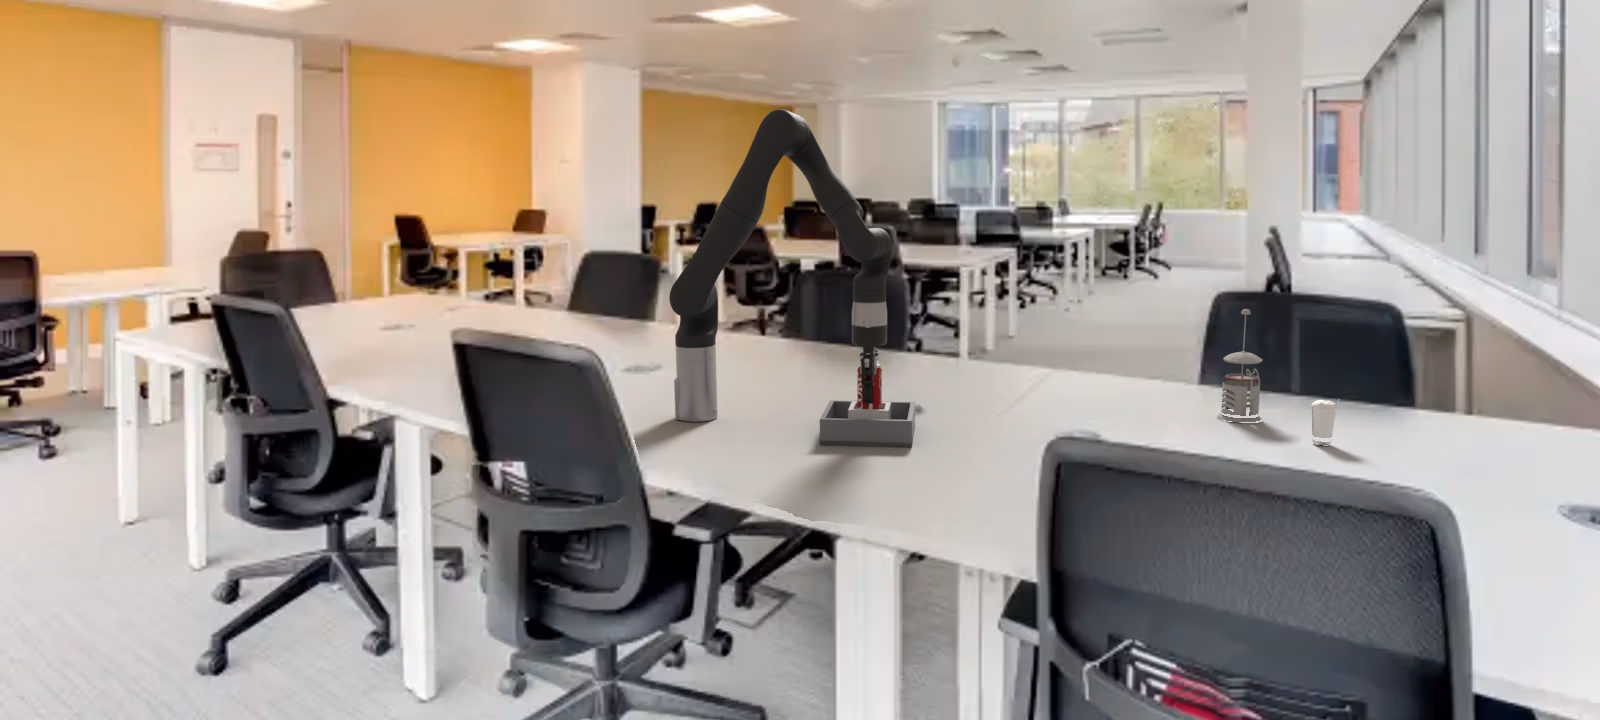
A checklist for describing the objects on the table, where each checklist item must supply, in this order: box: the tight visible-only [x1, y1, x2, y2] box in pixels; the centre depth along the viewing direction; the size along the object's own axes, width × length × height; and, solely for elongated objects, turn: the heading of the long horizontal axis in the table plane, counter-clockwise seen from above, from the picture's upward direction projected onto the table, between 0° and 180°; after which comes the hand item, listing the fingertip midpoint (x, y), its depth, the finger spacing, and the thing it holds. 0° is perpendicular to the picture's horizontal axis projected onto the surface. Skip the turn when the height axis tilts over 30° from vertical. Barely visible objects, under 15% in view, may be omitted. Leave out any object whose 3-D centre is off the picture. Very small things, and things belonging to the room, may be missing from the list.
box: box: [819, 399, 916, 448], centre depth 221 cm, size 19×19×6 cm
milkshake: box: [1311, 398, 1340, 446], centre depth 207 cm, size 4×5×10 cm
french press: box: [1216, 308, 1263, 422], centre depth 229 cm, size 10×12×25 cm
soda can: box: [856, 362, 883, 409], centre depth 222 cm, size 5×5×12 cm
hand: (869, 400), depth 222 cm, fingers closed on soda can, 5 cm apart
